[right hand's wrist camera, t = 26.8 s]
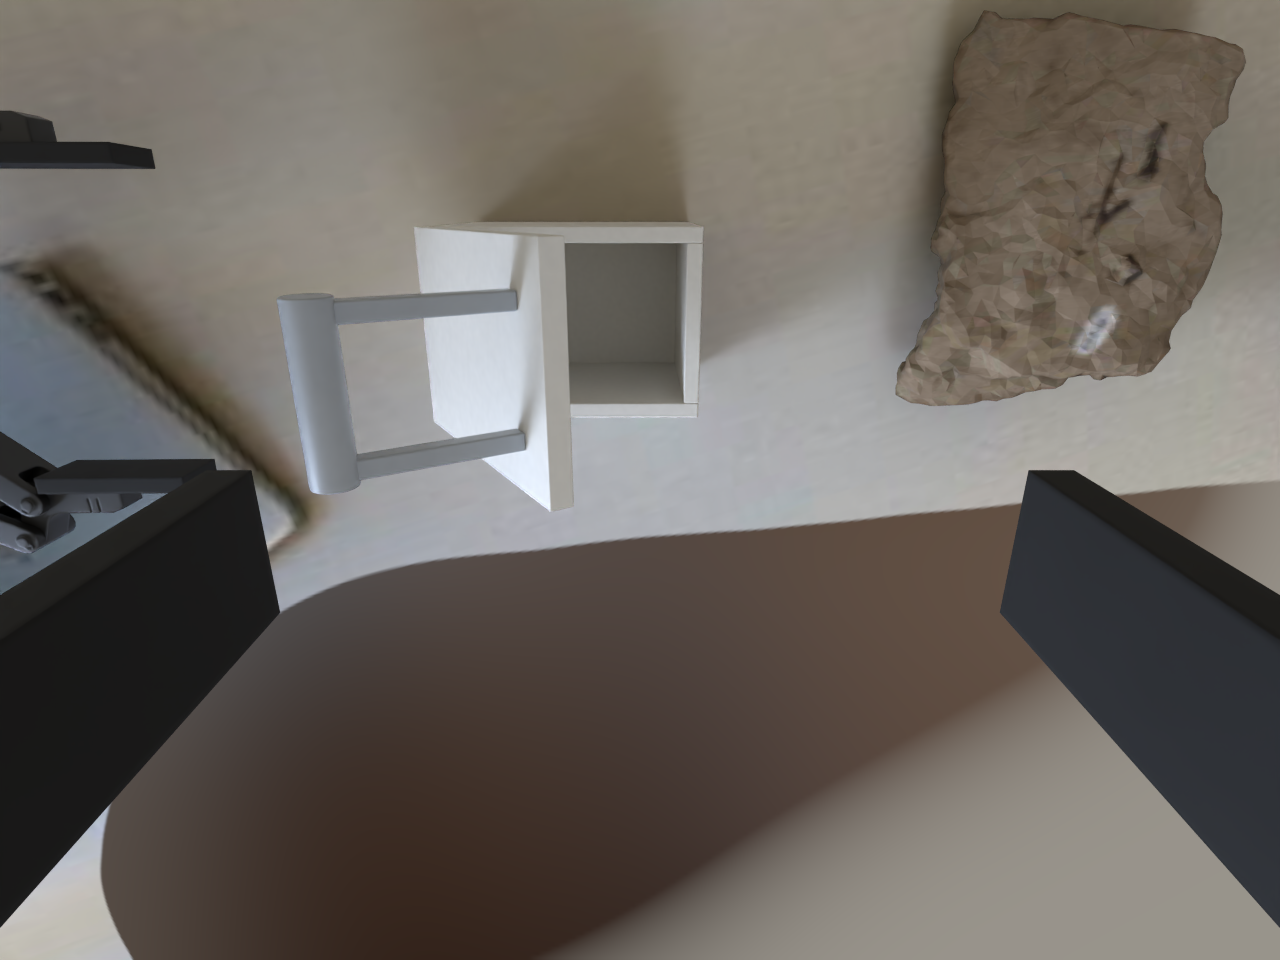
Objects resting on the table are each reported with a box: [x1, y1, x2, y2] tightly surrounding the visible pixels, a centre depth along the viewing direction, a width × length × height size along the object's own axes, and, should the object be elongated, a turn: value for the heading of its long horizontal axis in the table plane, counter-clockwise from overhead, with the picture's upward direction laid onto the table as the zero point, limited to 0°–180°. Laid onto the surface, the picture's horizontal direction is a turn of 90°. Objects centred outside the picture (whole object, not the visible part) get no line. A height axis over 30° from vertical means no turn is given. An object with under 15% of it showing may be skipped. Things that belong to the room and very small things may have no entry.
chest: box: [435, 222, 704, 417], centre depth 40 cm, size 13×9×11 cm
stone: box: [896, 11, 1246, 406], centre depth 41 cm, size 21×15×6 cm
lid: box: [277, 226, 574, 512], centre depth 27 cm, size 13×9×8 cm
